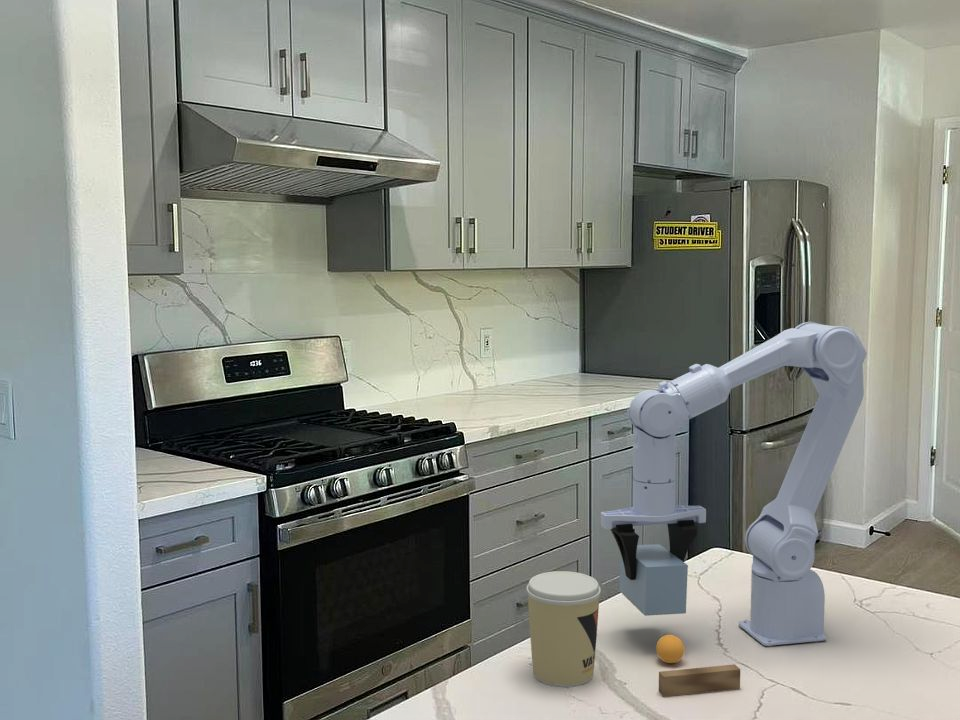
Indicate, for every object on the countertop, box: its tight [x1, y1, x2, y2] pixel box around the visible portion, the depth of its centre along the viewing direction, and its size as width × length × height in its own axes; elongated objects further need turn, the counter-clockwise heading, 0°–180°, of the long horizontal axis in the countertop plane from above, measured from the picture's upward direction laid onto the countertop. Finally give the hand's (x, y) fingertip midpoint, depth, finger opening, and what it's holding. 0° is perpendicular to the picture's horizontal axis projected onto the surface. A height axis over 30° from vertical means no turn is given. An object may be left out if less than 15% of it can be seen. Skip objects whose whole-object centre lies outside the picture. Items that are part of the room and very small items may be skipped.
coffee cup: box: [525, 570, 602, 688], centre depth 120 cm, size 9×9×12 cm
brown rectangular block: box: [658, 663, 741, 698], centre depth 116 cm, size 10×2×2 cm, turn 102°
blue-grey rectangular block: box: [619, 543, 689, 617], centre depth 130 cm, size 6×10×7 cm, turn 12°
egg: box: [655, 634, 685, 664], centre depth 124 cm, size 4×4×4 cm
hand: (652, 575), depth 130 cm, fingers closed on blue-grey rectangular block, 6 cm apart
